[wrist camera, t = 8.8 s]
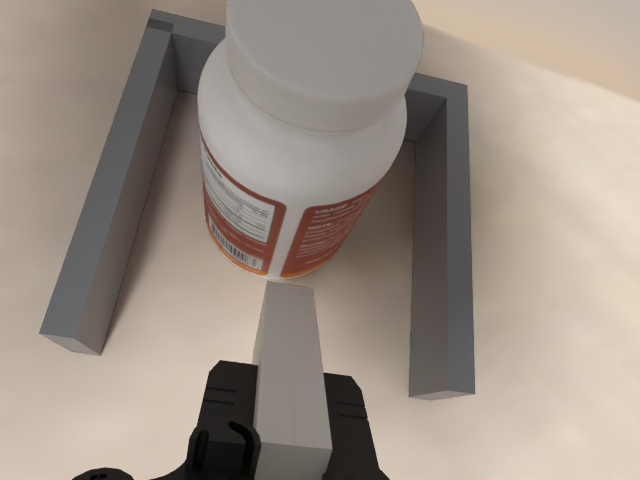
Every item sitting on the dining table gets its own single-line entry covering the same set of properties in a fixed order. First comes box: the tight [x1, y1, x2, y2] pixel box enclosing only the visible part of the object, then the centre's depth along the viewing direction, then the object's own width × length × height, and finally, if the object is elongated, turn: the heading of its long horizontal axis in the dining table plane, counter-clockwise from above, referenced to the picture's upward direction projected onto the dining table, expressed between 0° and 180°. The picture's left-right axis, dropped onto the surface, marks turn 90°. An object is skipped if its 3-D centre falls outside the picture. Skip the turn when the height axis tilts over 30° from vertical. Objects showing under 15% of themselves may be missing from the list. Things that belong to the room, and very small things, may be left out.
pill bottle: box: [197, 0, 424, 280], centre depth 16 cm, size 6×6×11 cm
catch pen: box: [39, 9, 475, 400], centre depth 19 cm, size 14×14×4 cm
